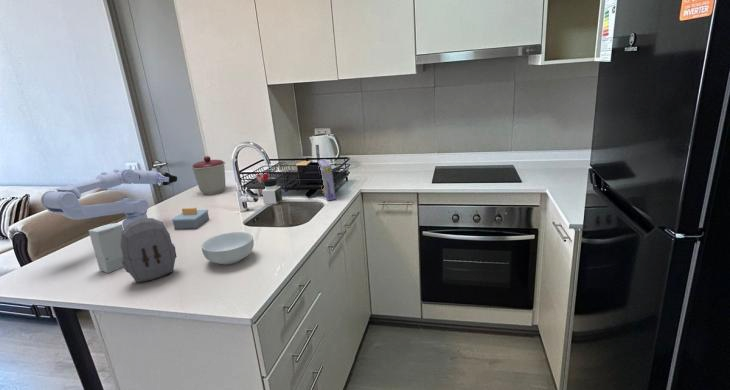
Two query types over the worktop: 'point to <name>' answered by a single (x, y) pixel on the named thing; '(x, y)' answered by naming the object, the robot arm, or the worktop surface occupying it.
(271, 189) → the medicine bottle
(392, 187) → the worktop surface
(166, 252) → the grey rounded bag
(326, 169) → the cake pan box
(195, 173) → the canister
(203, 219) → the tub
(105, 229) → the skincare box
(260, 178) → the soda can
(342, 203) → the worktop surface
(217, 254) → the cereal bowl
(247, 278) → the worktop surface
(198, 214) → the lid
